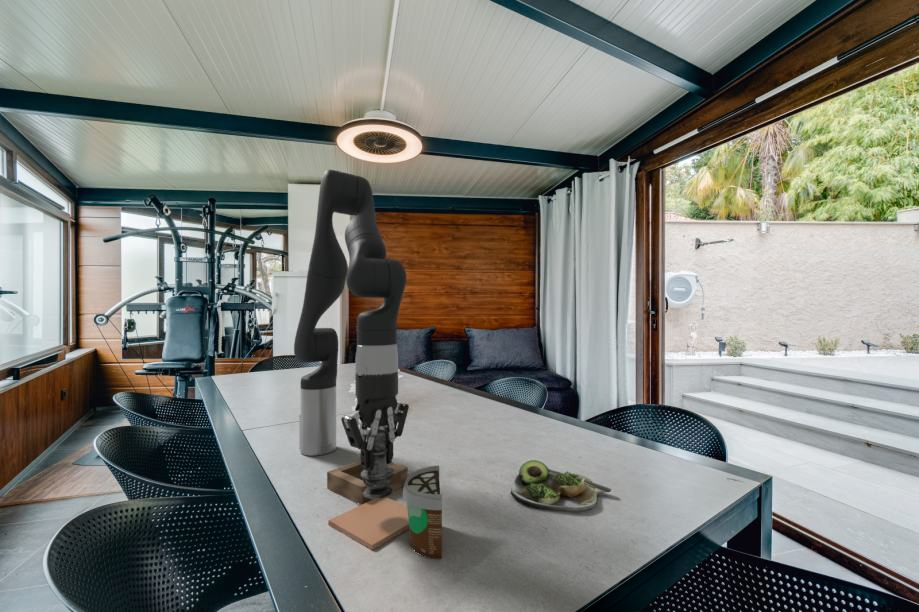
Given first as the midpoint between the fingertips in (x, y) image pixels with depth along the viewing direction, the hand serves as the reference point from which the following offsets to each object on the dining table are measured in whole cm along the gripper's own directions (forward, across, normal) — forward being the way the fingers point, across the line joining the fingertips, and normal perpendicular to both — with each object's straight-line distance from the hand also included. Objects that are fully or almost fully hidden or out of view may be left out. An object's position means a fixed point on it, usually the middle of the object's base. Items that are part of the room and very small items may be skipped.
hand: (377, 465), depth 70 cm
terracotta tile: (+10, 0, 0) cm, 10 cm away
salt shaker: (+5, 0, 0) cm, 5 cm away
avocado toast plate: (+10, -30, +19) cm, 37 cm away
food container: (+10, 0, +11) cm, 15 cm away
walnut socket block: (+10, -8, -13) cm, 18 cm away
